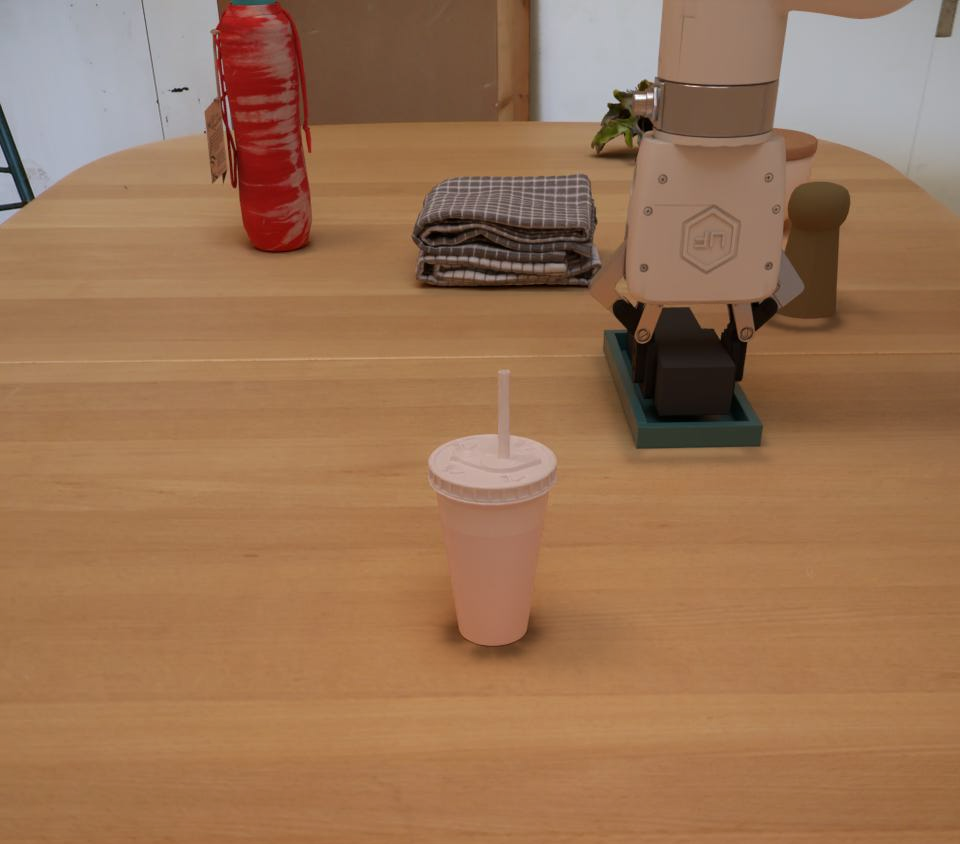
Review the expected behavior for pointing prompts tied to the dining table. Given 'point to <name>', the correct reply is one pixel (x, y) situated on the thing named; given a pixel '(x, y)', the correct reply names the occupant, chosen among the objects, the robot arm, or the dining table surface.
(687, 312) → the dark brown rectangular block
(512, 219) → the towel
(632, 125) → the green leafy plant
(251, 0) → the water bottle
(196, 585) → the dining table surface
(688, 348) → the black rectangular block
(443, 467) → the smoothie
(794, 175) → the lidded bowl
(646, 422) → the tray
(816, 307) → the pepper mill
